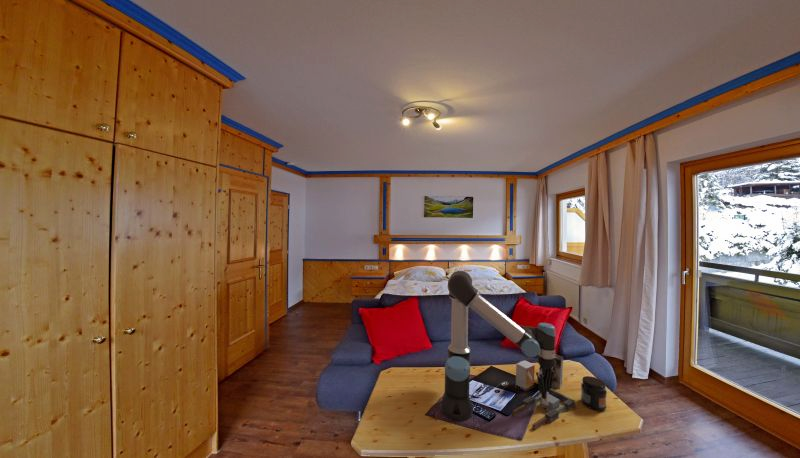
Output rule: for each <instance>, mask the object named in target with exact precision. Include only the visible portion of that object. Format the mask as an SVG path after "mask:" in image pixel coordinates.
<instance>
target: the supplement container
mask: <svg viewBox="0 0 800 458" xmlns="http://www.w3.org/2000/svg"><path fill="white" fill-rule="evenodd" d="M581 382H582V383H581V384H580V386H581V391H580V394H581V395H580V401H581V403H582V404H583V405H584V406H586V407H587V408H589V409H591V410H594V411H605V410H606V409H607V394H608V392H607V390H606V389H607V388H606V387H607V386H606V382H604V381H603V380H602V379H600V378H597V377H594V376H591V375H587V376H583V377H582V381H581Z"/></svg>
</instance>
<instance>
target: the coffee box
mask: <svg viewBox="0 0 800 458" xmlns="http://www.w3.org/2000/svg"><path fill="white" fill-rule="evenodd" d="M553 368H555V372H554V377H553V384H552V388H553V387H554V388H556V389H559V390H561V388H562V386H563V376H564V375H563V371H564V369H563V368H564V356H562V355H559V354H556V353H555V366H554V367H553Z"/></svg>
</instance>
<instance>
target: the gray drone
mask: <svg viewBox="0 0 800 458" xmlns="http://www.w3.org/2000/svg"><path fill="white" fill-rule="evenodd" d="M550 390H551V392H549V394H550V395H552V396H554V397H556V398H558V399H559V402H562V403H563V404H562V405H559V407H558V408H557V409H552V410H551V411H549V410H548V412H546V413H545V414H544V416H543V417H542V418H540V419H539V420H536V421H535V422H534V423H532V430H534V431H537V430H538V429H539V428H542V426H544V425H545V424H547V423H549V424H552V423H553V422H555V421H556V420H557V419H559V415H561V413H564V412H565V411H568V412H569V411H571V410H573V409H574V408H575V407H576V401H575V400H574V399H573V398H570V397H568V396H566V395H565V394H563V393H561V392H558V391H557V390H555V389H553V388H552V389H550ZM541 396H542V391H540V394H539V395H538V396H536V397H534V396H531V395H530V396H528V397H526V398H525V399H523V400H522V405H520V406H518V407H516V408H515V409H513V410H512V411H511V416H513V417H516V416H518V415H520V414H521V413H523V412H524V410H525V411H526V410H528V409H530V408H531V406H532V407H533V406H535V405H537V404H538V403H541ZM529 407H530V408H529ZM519 413H520V414H519Z"/></svg>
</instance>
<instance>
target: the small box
mask: <svg viewBox="0 0 800 458" xmlns="http://www.w3.org/2000/svg"><path fill="white" fill-rule="evenodd" d="M515 364H516V367H515V386H516V385H518V386H520V387H523V388H525V389H527V388H529V387H530V386H532V385H534V386H535V373H536V371H535V369H536V367H535V366H536V365H535V364H534V363H532V362H529V361H527V360H521V361H519V362H517V363H515Z"/></svg>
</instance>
